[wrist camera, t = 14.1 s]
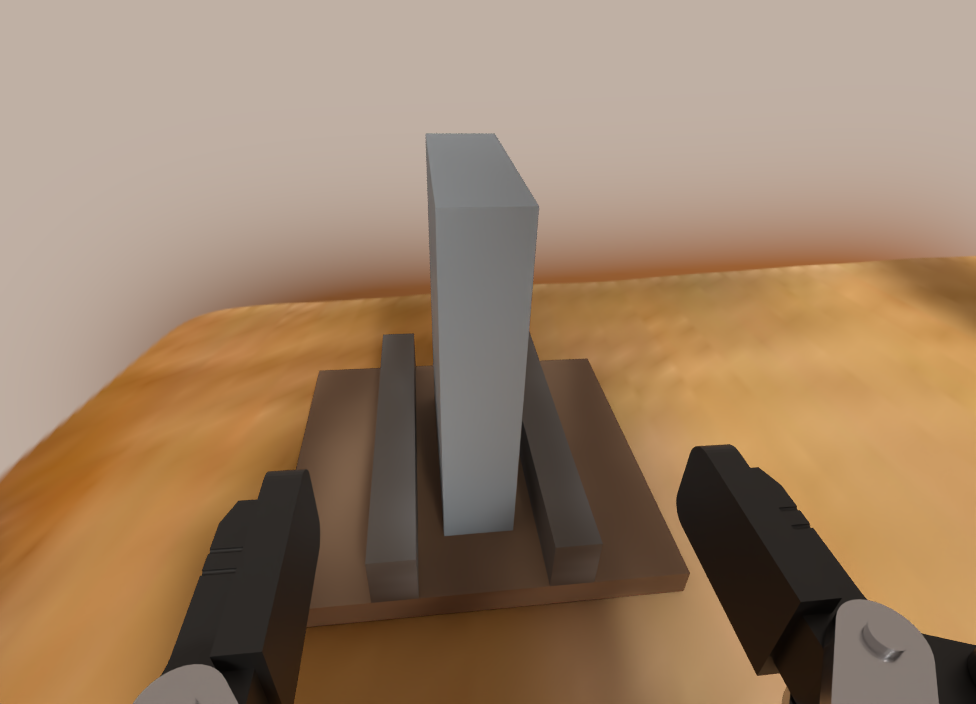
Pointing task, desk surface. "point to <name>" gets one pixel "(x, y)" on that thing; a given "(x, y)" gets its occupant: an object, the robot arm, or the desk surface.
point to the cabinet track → (481, 556)
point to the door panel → (479, 324)
